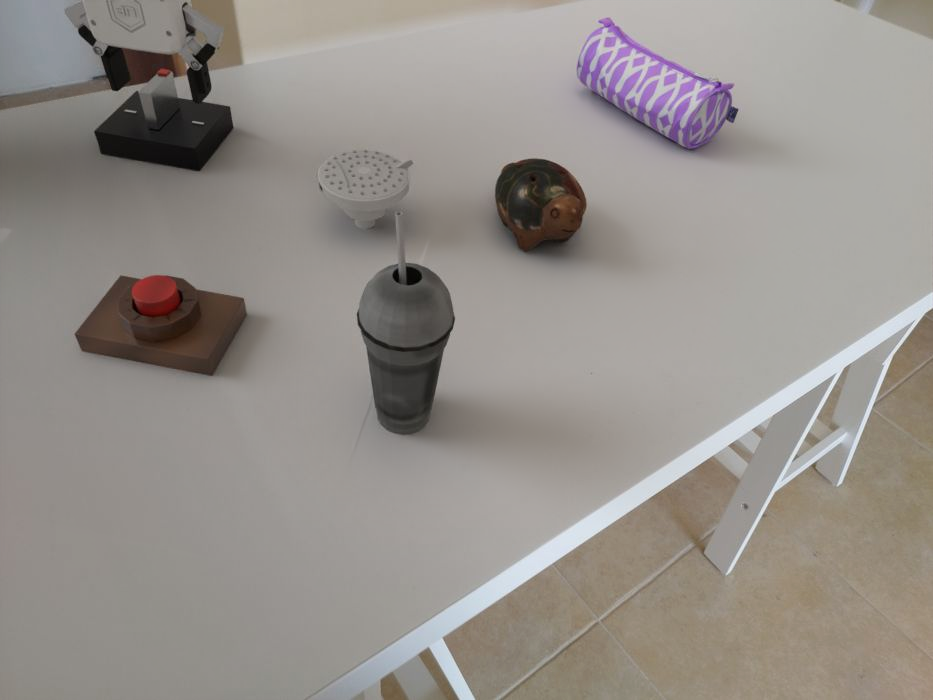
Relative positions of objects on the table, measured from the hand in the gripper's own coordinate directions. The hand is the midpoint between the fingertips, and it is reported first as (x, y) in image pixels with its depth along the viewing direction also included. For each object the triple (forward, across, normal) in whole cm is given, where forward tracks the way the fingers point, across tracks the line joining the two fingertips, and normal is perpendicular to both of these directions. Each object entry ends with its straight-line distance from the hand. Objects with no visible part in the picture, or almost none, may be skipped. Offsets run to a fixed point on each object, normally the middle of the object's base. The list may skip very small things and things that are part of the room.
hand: (161, 91), depth 84 cm
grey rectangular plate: (+3, 0, 0) cm, 3 cm away
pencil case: (+7, +57, +25) cm, 62 cm away
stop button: (+3, +14, -30) cm, 33 cm away
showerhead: (+7, +26, -9) cm, 29 cm away
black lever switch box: (+6, 0, 0) cm, 6 cm away
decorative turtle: (+7, +44, -5) cm, 45 cm away
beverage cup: (+7, +36, -34) cm, 50 cm away
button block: (+6, +14, -30) cm, 34 cm away
